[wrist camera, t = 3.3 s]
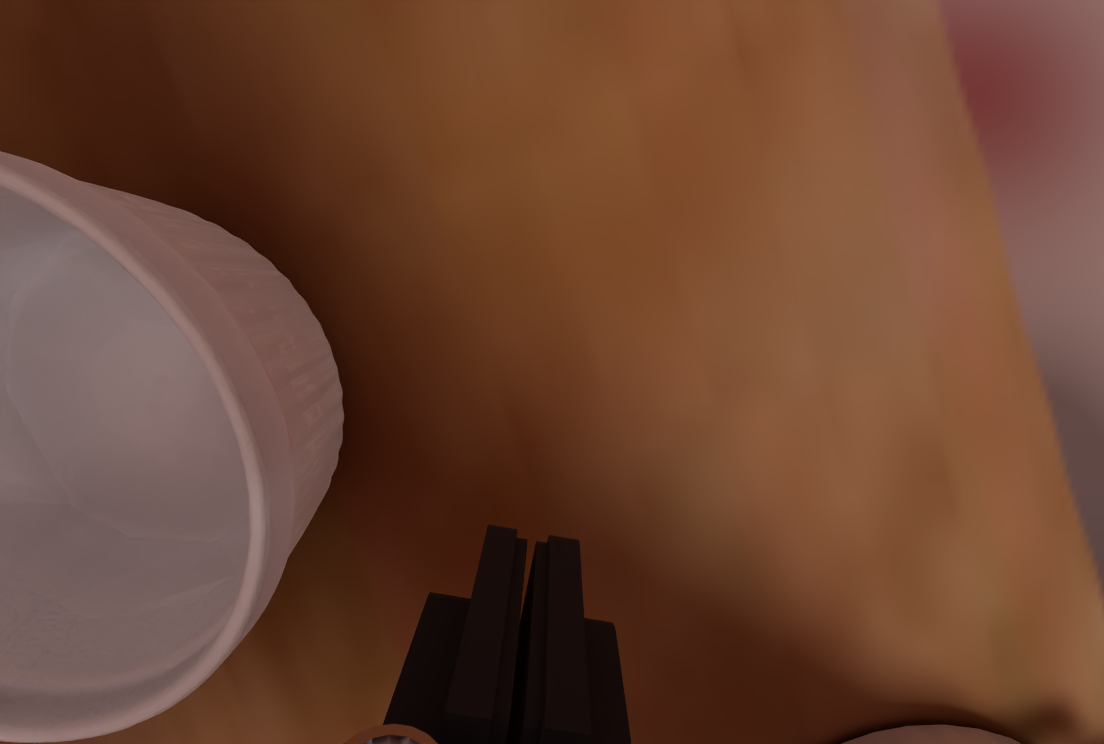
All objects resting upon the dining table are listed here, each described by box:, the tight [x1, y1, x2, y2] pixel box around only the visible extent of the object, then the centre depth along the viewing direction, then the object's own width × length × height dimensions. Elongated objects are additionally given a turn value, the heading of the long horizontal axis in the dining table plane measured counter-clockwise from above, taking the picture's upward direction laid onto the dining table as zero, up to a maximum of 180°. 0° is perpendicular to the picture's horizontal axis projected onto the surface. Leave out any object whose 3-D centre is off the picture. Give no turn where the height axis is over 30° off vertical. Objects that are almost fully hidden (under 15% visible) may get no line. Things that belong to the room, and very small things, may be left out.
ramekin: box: [0, 151, 344, 743], centre depth 14 cm, size 13×13×7 cm
